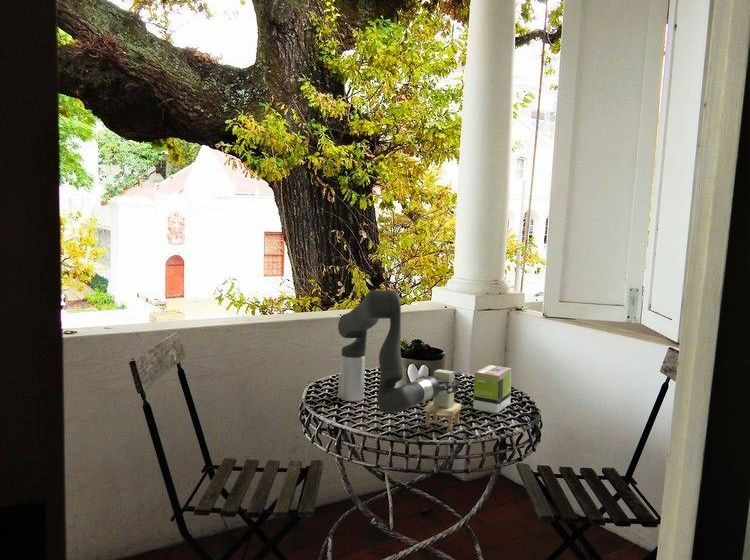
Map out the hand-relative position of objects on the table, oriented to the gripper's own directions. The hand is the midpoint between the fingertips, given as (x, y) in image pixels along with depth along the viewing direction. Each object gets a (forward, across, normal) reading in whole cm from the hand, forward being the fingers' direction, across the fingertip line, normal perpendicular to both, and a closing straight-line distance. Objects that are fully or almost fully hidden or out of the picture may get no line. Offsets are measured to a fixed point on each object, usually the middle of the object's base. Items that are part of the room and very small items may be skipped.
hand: (447, 380), depth 223 cm
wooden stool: (-2, 0, +16) cm, 16 cm away
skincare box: (-2, 0, +9) cm, 9 cm away
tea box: (+31, -3, +16) cm, 35 cm away
